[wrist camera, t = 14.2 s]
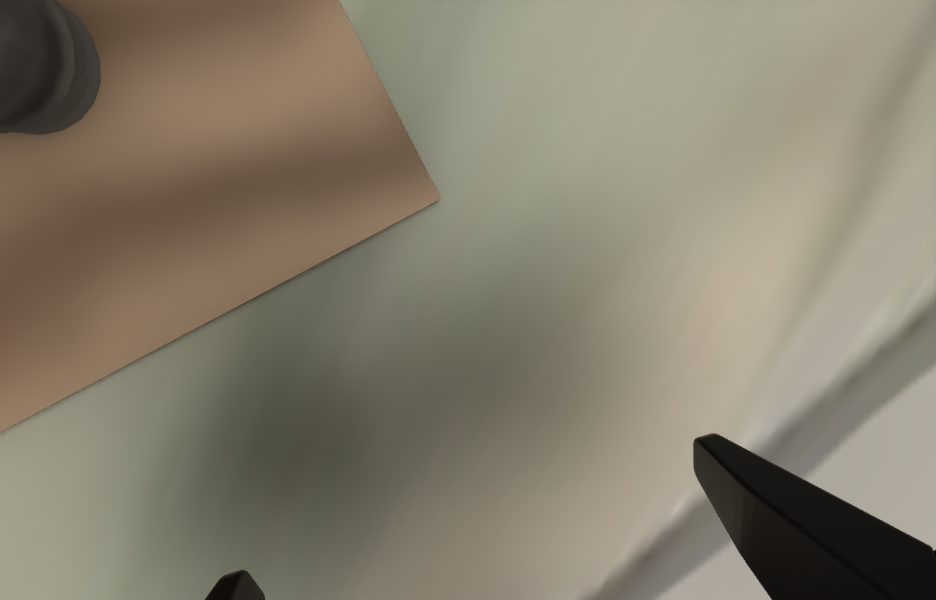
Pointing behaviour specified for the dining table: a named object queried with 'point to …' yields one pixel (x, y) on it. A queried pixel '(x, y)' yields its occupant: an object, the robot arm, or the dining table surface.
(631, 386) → the dining table surface
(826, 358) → the dining table surface
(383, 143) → the walnut board
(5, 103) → the beverage cup
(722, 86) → the dining table surface
